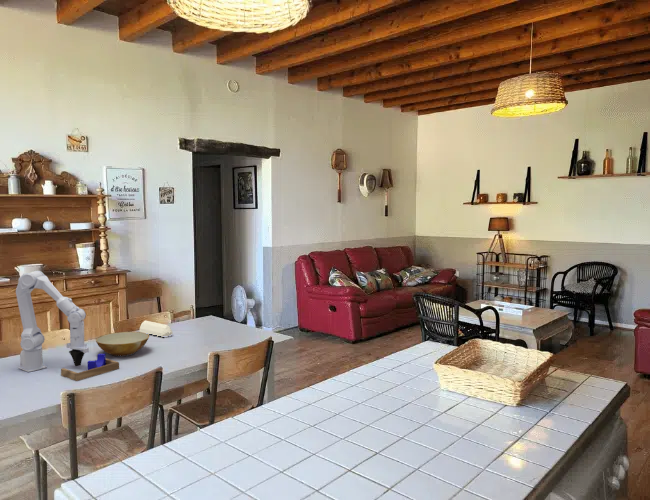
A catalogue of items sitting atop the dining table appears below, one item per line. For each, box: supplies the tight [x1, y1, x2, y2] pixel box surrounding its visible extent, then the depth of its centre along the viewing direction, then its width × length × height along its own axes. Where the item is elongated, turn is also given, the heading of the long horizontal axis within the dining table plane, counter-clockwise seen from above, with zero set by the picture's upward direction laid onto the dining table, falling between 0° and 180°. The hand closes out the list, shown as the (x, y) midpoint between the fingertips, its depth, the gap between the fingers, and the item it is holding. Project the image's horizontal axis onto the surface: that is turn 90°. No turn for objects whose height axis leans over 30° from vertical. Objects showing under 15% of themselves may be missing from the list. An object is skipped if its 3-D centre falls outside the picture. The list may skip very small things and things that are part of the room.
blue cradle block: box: [87, 353, 107, 370], centre depth 218 cm, size 12×4×6 cm, turn 3°
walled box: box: [60, 358, 120, 382], centre depth 216 cm, size 12×20×3 cm, turn 147°
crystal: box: [139, 320, 173, 338], centre depth 283 cm, size 7×7×24 cm
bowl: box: [95, 331, 150, 357], centre depth 245 cm, size 25×25×8 cm
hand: (77, 365), depth 221 cm, fingers closed
